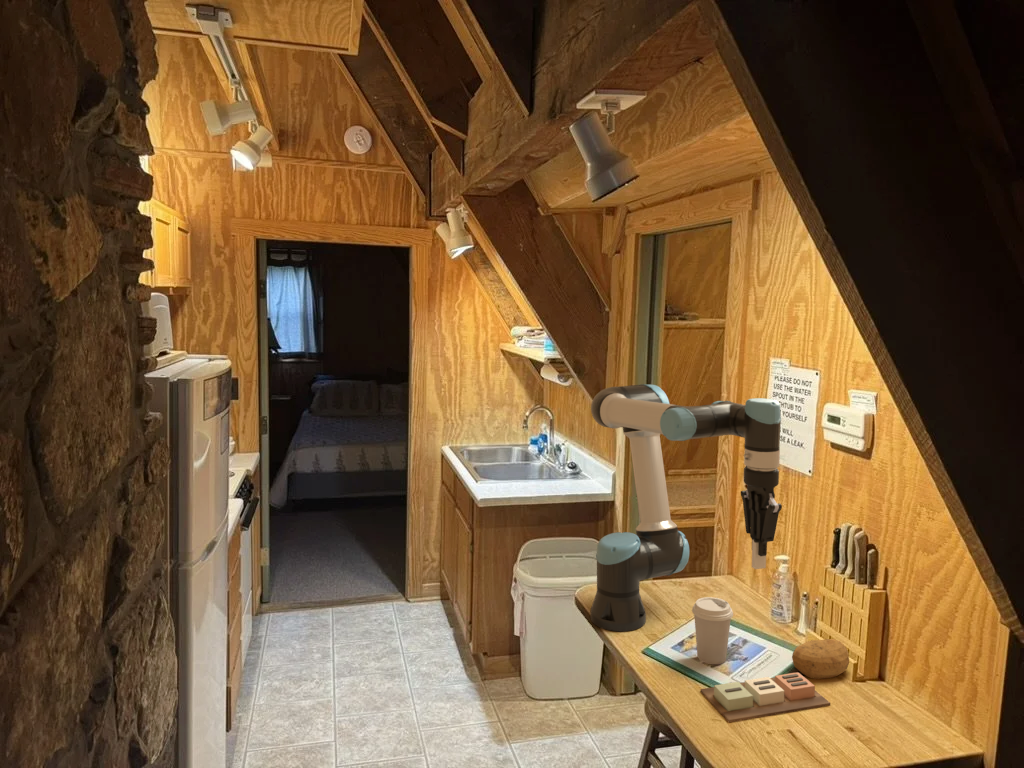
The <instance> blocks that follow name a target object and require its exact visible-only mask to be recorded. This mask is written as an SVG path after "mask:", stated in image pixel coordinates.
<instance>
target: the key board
mask: <svg viewBox="0 0 1024 768" xmlns="http://www.w3.org/2000/svg"><path fill="white" fill-rule="evenodd" d="M769 678H770V679H772V680H773V681H774V682H775V677H769ZM739 683H740V684H741V685H742V686H743V687H744V688H745V681H744V682H739ZM699 690H700V693H701V694H702V695H703V696H704V697H705V698H706V700H708V701H709V702H710V704H711V705H712V706H713V707H714V708H715V709H716V710H717V711H718V712H719V714H720V715H722V717H723V718H724V719H725V720H726V721H727V722H728V723H734V722H739V721H747V720H751V719H757V718H763V717H764V718H765V717H769V716H775V715H780V714H787V713H792V712H798V711H799V712H800V711H805V710H811V709H816V708H822V707H827V706H828V707H829V706H831V702H830V701H829V700H828V699H826V698H825V697H824V696H823V695H822V694H820V692H818V691H816V690H815V695H814V697H812V698H806V699H800V700H794V701H790V700H789V699H788V698H787V697H785V696H784V702H782V703H776V704H770V705H763V706H759V705H758V704H757V703H756V702H755V701H754V700H753V707H751V708H745V709H739V710H733V711H727V710H726V709H725V708H724V707H723V706H722V705H721V704H720V703H719V702H718V701H717V700H716V699H715V698H714V686H713V687H712V686H711V687H706V688H700V689H699Z"/></svg>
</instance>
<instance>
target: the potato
mask: <svg viewBox="0 0 1024 768" xmlns="http://www.w3.org/2000/svg"><path fill="white" fill-rule="evenodd" d="M849 656H850V655H849V650H848V649H847V647H846V646H845V645H844V644H843V643H842V642H841V641H839V640H837V639H834V638H827V639H826V638H825V639H820V640H819V639H815V640H814V639H812V640H808V641H805V642H803V643H802V644H800V645H798V646H796V648H795V649H794V650H793V651H792V656H791V658H792V660H791V661H792V663H793V666H794V667H795V668H796V669H797V671H799V673H800V674H801V675H802V674H803V675H804V676H806V677H808V678H810V679H830V678H835V677H838V676H840V675H841V674H842V673H844V672H846V670H848V667H849V665H850V657H849Z"/></svg>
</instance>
